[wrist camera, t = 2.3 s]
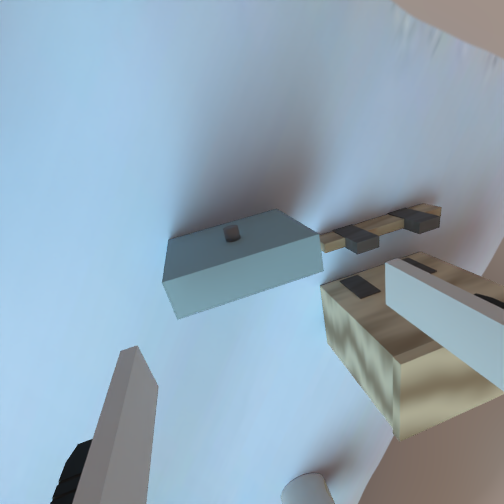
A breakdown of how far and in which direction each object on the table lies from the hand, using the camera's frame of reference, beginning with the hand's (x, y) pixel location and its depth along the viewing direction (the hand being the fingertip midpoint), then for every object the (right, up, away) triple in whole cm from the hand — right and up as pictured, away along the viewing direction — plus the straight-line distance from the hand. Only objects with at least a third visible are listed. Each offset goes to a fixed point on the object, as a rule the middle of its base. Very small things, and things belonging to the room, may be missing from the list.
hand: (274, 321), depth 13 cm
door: (-4, +5, +13) cm, 14 cm away
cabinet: (+14, +1, +19) cm, 23 cm away
